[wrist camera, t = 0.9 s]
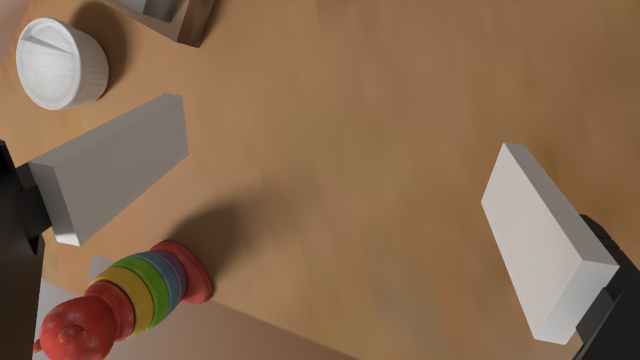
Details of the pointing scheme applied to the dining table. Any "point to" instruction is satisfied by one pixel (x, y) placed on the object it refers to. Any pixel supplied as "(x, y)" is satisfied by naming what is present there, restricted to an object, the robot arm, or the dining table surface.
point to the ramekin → (60, 65)
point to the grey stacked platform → (169, 17)
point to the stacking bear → (123, 303)
